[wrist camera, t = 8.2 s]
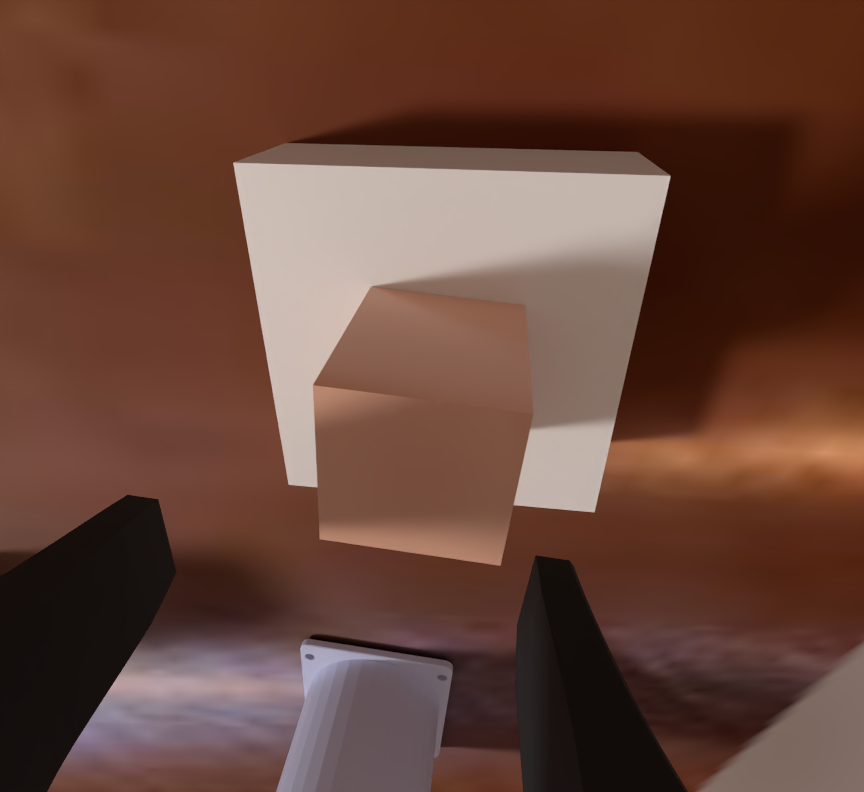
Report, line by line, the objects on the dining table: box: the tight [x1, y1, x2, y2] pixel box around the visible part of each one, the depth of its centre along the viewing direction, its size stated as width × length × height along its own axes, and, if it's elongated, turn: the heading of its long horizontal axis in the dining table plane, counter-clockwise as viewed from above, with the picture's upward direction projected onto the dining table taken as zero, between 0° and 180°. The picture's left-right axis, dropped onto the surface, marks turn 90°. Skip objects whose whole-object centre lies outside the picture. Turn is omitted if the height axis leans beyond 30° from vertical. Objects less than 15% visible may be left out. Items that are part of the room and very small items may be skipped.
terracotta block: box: [313, 287, 533, 565], centre depth 13 cm, size 4×4×5 cm
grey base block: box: [234, 143, 671, 512], centre depth 17 cm, size 10×10×4 cm
